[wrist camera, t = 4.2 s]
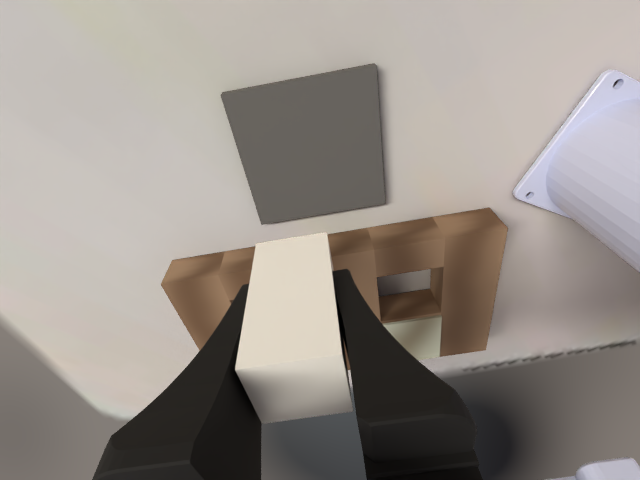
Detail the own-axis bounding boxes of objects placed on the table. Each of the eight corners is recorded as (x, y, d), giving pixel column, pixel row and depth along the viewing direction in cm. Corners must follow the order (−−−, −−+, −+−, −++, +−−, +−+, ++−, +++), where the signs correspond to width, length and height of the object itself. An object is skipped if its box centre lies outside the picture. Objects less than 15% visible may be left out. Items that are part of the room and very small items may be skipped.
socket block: (489, 207, 23) (509, 229, 21) (473, 325, 30) (486, 352, 28) (172, 260, 24) (159, 286, 22) (226, 362, 31) (221, 390, 29)
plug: (326, 232, 14) (342, 354, 9) (335, 284, 16) (353, 411, 11) (255, 243, 14) (234, 369, 10) (272, 294, 16) (262, 423, 11)
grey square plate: (374, 63, 18) (376, 65, 17) (383, 199, 22) (385, 203, 22) (222, 92, 18) (220, 95, 18) (262, 219, 23) (261, 224, 22)
